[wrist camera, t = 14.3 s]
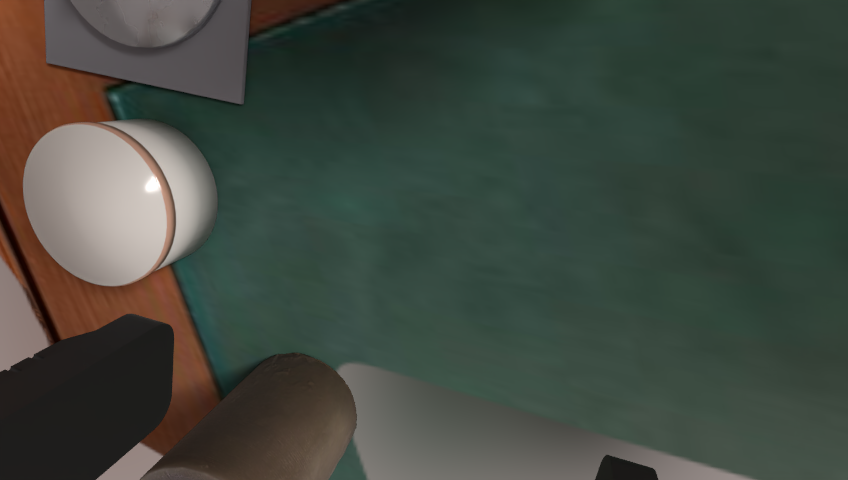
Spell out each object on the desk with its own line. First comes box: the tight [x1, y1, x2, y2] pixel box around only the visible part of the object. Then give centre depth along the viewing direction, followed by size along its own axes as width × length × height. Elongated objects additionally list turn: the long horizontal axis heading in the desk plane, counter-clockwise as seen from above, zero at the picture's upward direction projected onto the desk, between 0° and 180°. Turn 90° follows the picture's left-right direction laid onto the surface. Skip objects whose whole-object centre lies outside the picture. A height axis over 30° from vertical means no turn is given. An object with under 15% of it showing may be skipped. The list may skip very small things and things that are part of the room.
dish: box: [23, 119, 218, 286], centre depth 40 cm, size 11×11×6 cm
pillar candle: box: [140, 353, 357, 480], centre depth 38 cm, size 10×10×15 cm
